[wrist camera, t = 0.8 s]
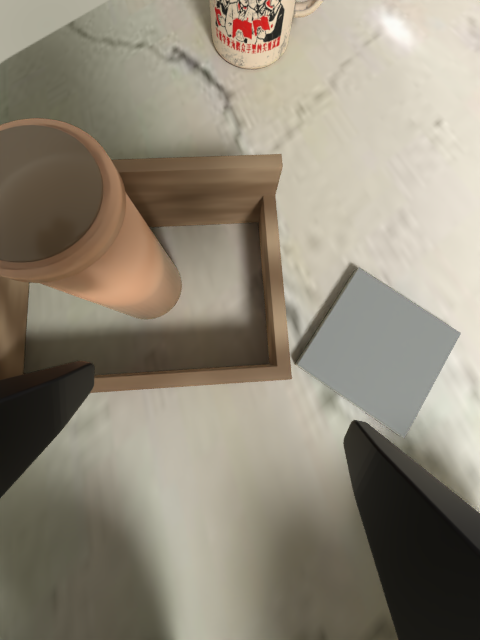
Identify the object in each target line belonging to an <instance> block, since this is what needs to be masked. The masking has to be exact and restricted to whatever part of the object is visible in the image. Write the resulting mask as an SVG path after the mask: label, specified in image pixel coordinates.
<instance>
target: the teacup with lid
mask: <svg viewBox="0 0 480 640" xmlns="http://www.w3.org/2000/svg"><path fill="white" fill-rule="evenodd" d="M295 1H296V0H210V13H211V28H212V39H213V43H214V45H215V48H216V50H217V51H218V53H219V54H220V55H221V56H222V57H223V58H224V59H225V60H226V61H228V62H229V63H231V64H233V65H235V66H238V67H241V68H246V69H258V68H263V67H266V66H269V65H271V64H272V63H274V62H275V61H277V60H278V59H279V58H280V57H281V56H282V54H283V53H284V51H285V49H286V47H287V44H288V40H289V35H290V29H291V23H292V18H293V17H296V18H297V17H305V16H308V15H310V14H311V13H313V12H314V11H315V10H316V9H317V8H318V7H319V6H320V5H321V3H322V2H323V0H307V1H303V2H295Z"/></svg>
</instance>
